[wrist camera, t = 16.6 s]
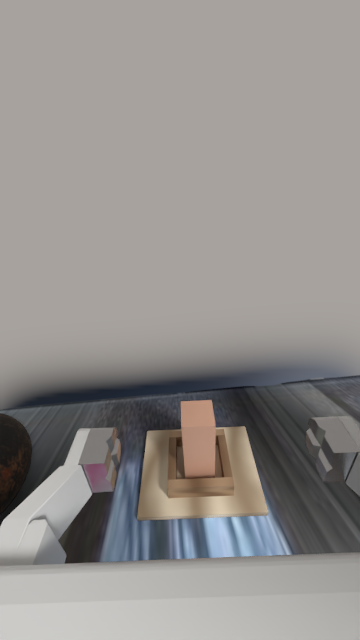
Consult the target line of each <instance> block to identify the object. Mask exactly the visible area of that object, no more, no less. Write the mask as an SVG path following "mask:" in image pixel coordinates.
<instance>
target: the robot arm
mask: <svg viewBox="0 0 360 640" xmlns="http://www.w3.org/2000/svg"><path fill="white" fill-rule="evenodd" d="M308 425H309V427H310V429H308V430H307V431H306V435H305V441H306V446H307V449H308V451H309V453H310V455H311V456H312V457H313V458H315V459H316V460H317V461H316V465H315V466H316V468H317V470H318V472H319V474H320V476H321V478H322V480H323V482H346V484H347V485H348V486H349V487H350V488H351V489H352V490H353V491H354V492H355V493H357V494H358V495H359V496H360V429H359V428H358V426H357V425H356V423H355V422H354V421H353V419H352V418H351V417H349V416H340V417H318V418H311V419H310V420H309V423H308ZM120 453H121V446H120V440H119V439H117V429H116V428H81V429H79V430H78V431H77V433H76V436H75V438H74V441H73V443H72V446H71V448H70V451H69V453H68V456H67V458H66V461H65V464H64V466H60V467H59V468H57V469H56V470H55V471H54V472H53V473H52V474H51V475H50V476H49V477H48V478H47V479H46V480H45V481H44V482H43V483H42V484H41V485H40V486H39V487H38V488H36V489H35V490H34V491H33V492H32V493H31V494H30V495H29V496H28V497H27V498H26V499H25V500H24V501H23V502H22V503H21V504H20V505H19V506H18V507H17V508H15V509H14V510H13V511H12V512H11V513H10V514H9V515H8V516H7V517H6V518H5V519H4V520H3V522H2V524H1V526H0V640H360V552H356V553H329V554H303V555H276V556H250V557H223V558H197V559H171V560H145V561H119V562H92V563H66V564H64V563H65V560H66V553H65V551H64V550H63V548H62V546H61V545H60V543H59V541H58V540H59V538H60V537H61V536H62V534H63V533H64V532H65V530H66V529H67V528H68V526H69V525H70V524H71V522H72V521H73V520H74V518H75V517H76V516H77V514H78V513H79V511H80V510H81V509H82V507H83V506H84V505H85V503H86V502H87V501H88V499H89V498H90V497H91V495H92V493H96V492H110V491H113V490H114V485H115V481H116V476H117V473H116V470H115V468H116V466H117V465H118V464H119V461H120Z"/></svg>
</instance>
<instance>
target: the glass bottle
mask: <svg viewBox="0 0 360 640" xmlns="http://www.w3.org/2000/svg"><path fill="white" fill-rule="evenodd" d="M31 453H32V450H31V441H30V437H29V435H28V433H27V431H26V429H25V428H24V426H23V425H22V424H21V423H20V422H18V421H17V420H16V419H14V418H12V417H10V416H8V415H5V414H1V413H0V514H1V513H2V512H3V511H4V510H5V509H6V508H7V507H8V505H9V504H10V503H11V502H12V500H13V499H14V498H15V496H16V495H17V493H18V491H19V490H20V488H21V486H22V484H23V482H24V480H25V478H26V475H27V473H28V470H29V466H30V462H31Z"/></svg>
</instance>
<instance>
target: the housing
mask: <svg viewBox="0 0 360 640" xmlns="http://www.w3.org/2000/svg"><path fill="white" fill-rule="evenodd" d="M263 515H268V509H267V505H266V502H265V498H264V494H263V491H262V487H261V483H260V480H259V476H258V472H257V469H256V465H255V461H254V458H253V454H252V450H251V447H250V443H249V439H248V436H247V432H246V428H245V426H242V427H221V428H216V437H215V478H198V479H185V467H184V455H183V442H182V430H181V429H178V430H156V431H147V438H146V446H145V455H144V463H143V472H142V480H141V489H140V497H139V506H138V514H137V519H138V520H163V519H188V518H213V517H238V516H263Z"/></svg>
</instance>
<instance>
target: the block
mask: <svg viewBox="0 0 360 640" xmlns="http://www.w3.org/2000/svg"><path fill="white" fill-rule="evenodd" d="M181 430H182V442H183V455H184V467H185V479H198V478H215V437H216V425H215V418H214V412H213V405H212V400H201V401H181Z"/></svg>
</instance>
